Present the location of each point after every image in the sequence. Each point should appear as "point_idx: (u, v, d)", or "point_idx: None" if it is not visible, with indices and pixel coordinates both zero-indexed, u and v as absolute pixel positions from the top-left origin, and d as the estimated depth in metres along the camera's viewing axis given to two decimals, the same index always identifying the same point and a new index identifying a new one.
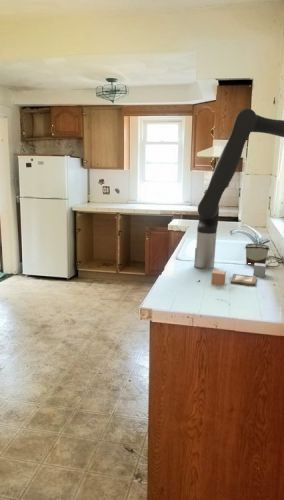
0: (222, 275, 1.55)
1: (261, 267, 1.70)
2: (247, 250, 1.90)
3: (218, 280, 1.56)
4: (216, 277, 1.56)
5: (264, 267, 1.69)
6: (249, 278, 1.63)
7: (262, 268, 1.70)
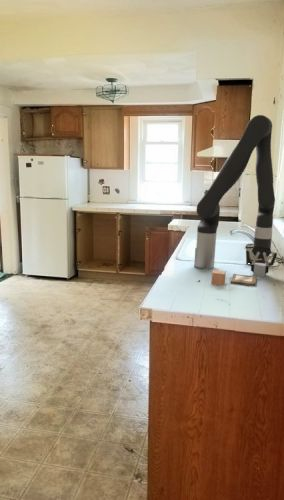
0: (222, 275, 1.55)
1: (261, 267, 1.70)
2: None
3: (218, 280, 1.56)
4: (216, 277, 1.56)
5: (264, 267, 1.69)
6: (249, 278, 1.63)
7: (262, 268, 1.69)
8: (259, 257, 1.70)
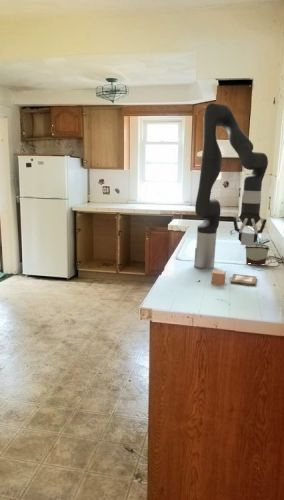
0: (222, 275, 1.55)
1: (249, 235, 1.56)
2: (247, 250, 1.90)
3: (218, 280, 1.56)
4: (216, 277, 1.56)
5: (252, 235, 1.55)
6: (249, 278, 1.63)
7: (250, 236, 1.56)
8: (247, 224, 1.57)
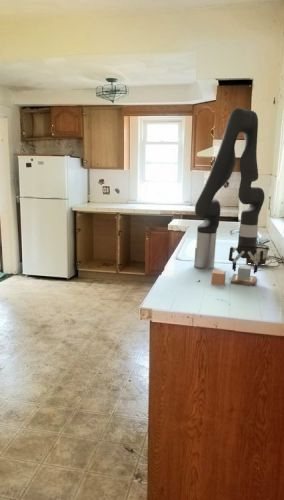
0: (222, 275, 1.55)
1: (245, 270, 1.59)
2: None
3: (218, 280, 1.56)
4: (216, 277, 1.56)
5: (249, 270, 1.59)
6: None
7: (247, 271, 1.59)
8: (242, 257, 1.60)
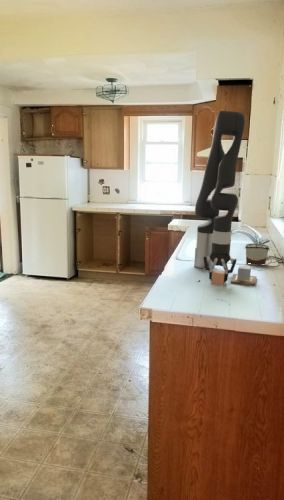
0: (222, 275, 1.55)
1: (245, 270, 1.59)
2: (247, 250, 1.90)
3: (218, 280, 1.56)
4: (216, 277, 1.56)
5: (249, 270, 1.59)
6: None
7: (247, 271, 1.59)
8: (217, 264, 1.56)
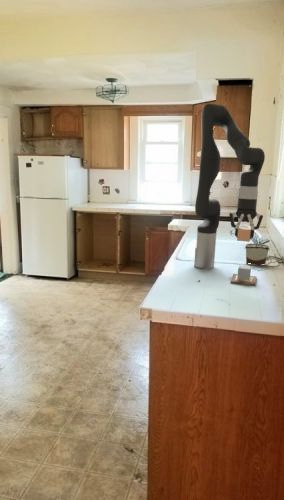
0: (248, 231, 1.54)
1: (245, 270, 1.59)
2: (247, 250, 1.90)
3: (244, 236, 1.55)
4: (242, 233, 1.55)
5: (249, 270, 1.59)
6: None
7: (247, 271, 1.59)
8: (243, 220, 1.56)
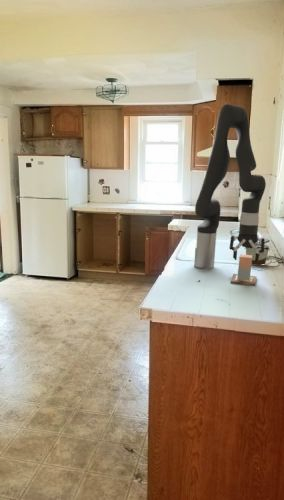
0: (249, 259, 1.58)
1: (245, 270, 1.59)
2: (247, 250, 1.90)
3: (245, 263, 1.59)
4: (244, 261, 1.59)
5: (249, 270, 1.59)
6: None
7: (247, 271, 1.59)
8: (243, 245, 1.59)
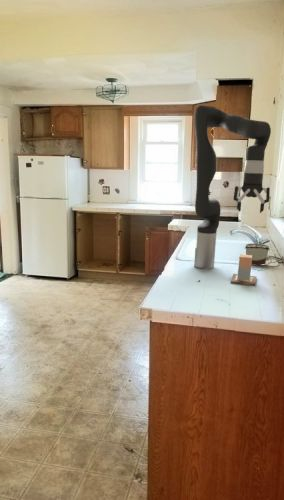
0: (249, 259, 1.58)
1: (245, 270, 1.59)
2: (247, 250, 1.90)
3: (245, 263, 1.59)
4: (244, 261, 1.59)
5: (249, 270, 1.59)
6: None
7: (247, 271, 1.59)
8: (248, 195, 1.54)
